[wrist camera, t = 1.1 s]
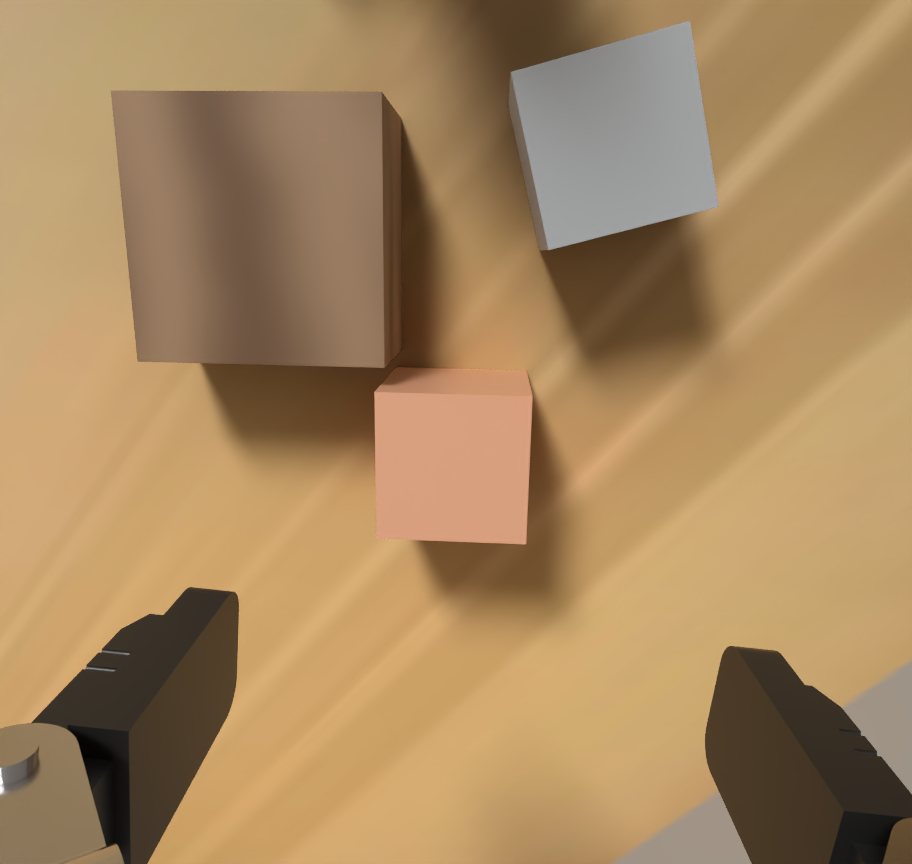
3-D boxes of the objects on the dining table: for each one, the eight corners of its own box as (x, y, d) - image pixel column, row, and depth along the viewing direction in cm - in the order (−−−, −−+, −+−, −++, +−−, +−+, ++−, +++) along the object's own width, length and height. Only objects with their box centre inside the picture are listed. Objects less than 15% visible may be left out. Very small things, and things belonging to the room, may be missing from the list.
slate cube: (651, 66, 26) (689, 20, 21) (676, 215, 28) (718, 206, 22) (508, 106, 27) (511, 71, 22) (539, 250, 28) (548, 250, 23)
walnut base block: (402, 119, 28) (381, 92, 23) (402, 348, 30) (384, 367, 25) (177, 118, 28) (110, 90, 23) (195, 343, 30) (137, 361, 25)
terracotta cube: (526, 370, 30) (532, 396, 24) (521, 493, 31) (525, 544, 26) (396, 366, 30) (374, 391, 25) (397, 489, 31) (376, 538, 26)
